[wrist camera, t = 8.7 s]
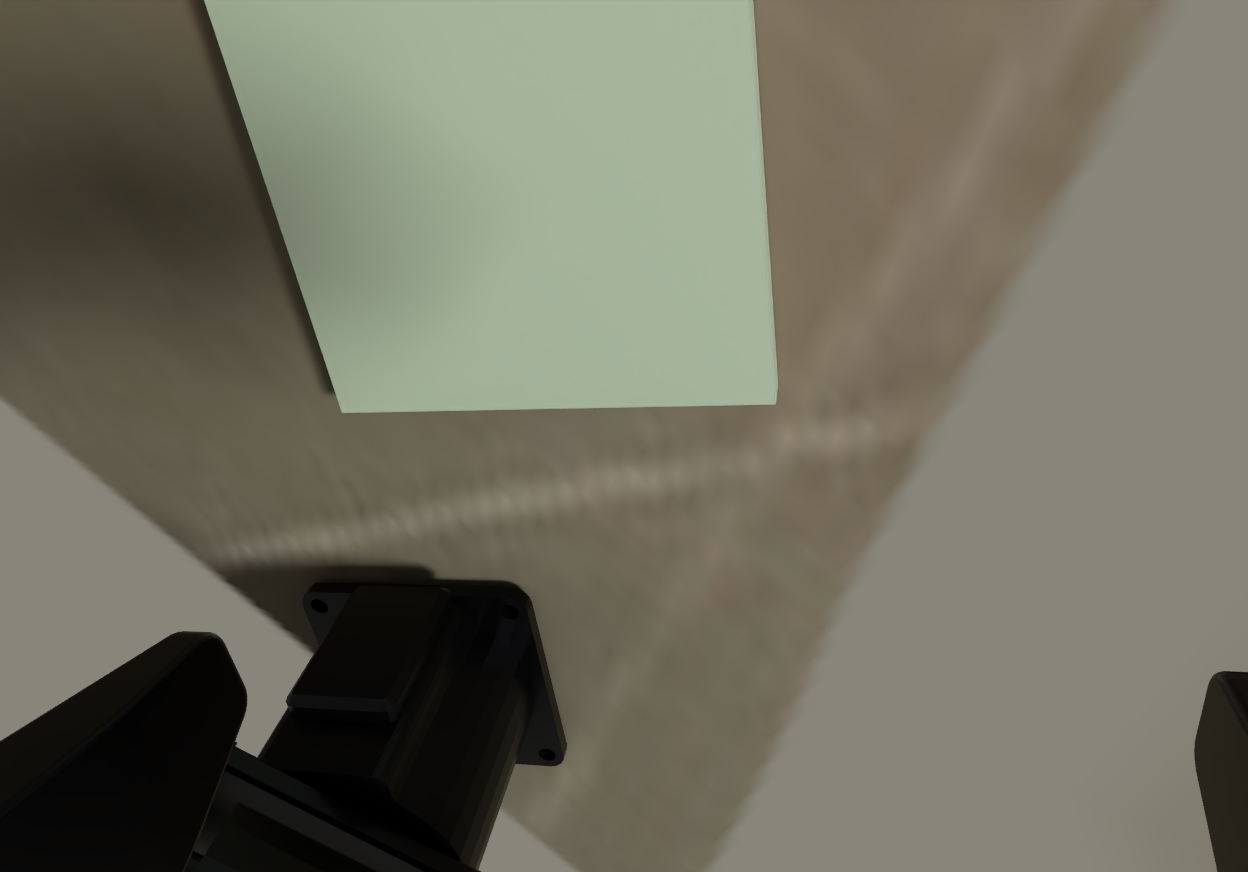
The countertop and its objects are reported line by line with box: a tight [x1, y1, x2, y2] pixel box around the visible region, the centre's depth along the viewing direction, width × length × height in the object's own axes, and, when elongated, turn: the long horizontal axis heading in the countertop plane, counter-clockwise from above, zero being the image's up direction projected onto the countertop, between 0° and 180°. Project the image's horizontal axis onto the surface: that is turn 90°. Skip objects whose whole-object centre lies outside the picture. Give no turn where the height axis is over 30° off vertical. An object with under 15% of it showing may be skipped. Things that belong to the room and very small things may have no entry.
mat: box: [204, 0, 778, 413], centre depth 20 cm, size 10×10×1 cm
